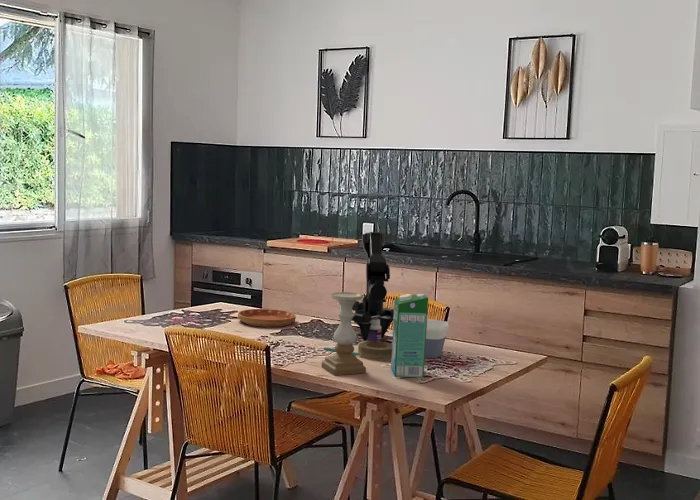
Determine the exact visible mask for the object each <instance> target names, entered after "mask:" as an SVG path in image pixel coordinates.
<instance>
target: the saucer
mask: <svg viewBox="0 0 700 500" xmlns="http://www.w3.org/2000/svg"><path fill="white" fill-rule="evenodd" d="M237 319H238V320H240V321H241V322H242V323H244V324H246V325H250V326H255V327H263V328H264V327H265V328H266V327H267V328H276V327H284V326H288V325H291V324H292V323H293V322H295V321H296V319H297V316H296V314H295V313H293V312H291V311H288V310H287V311H286V310H281V309H273V308H252V309H251V308H250V309H249V308H248V309H243V310H240V311H238V313H237Z"/></svg>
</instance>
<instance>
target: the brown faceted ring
mask: <svg viewBox="0 0 700 500" xmlns="http://www.w3.org/2000/svg"><path fill="white" fill-rule="evenodd" d="M357 349H358V350H357V353H359V355H358V357H360V358H363V359H367V360H375V361H386V360H387V361H388V360H391V356H392V343H390V342H386V341H385V342H384V341H381V342H377V341H368V342H366V341H363V342H360V343H359V344H358V348H357Z"/></svg>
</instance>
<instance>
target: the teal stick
mask: <svg viewBox="0 0 700 500" xmlns="http://www.w3.org/2000/svg"><path fill="white" fill-rule="evenodd" d="M323 350H324V351H325V350H326V351H330V352H336V351H335V348H332V347H323ZM336 353H337V352H336ZM352 354H353V355H355V356H359V353H358V352H356V351H353V352H352Z"/></svg>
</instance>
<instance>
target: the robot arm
mask: <svg viewBox="0 0 700 500" xmlns="http://www.w3.org/2000/svg"><path fill="white" fill-rule="evenodd" d="M361 235H362V236H361V245H362V246H363V247H362V249H363V252H364V254H365V255H366V263H365V280H366V286H365V288H366V289H365V290H366V291H365V292H366V293H365V295H363V299H362V300H361V302H360V300H356V301H355V304H354V305H353V307H352V311H353V314H354V317H353V319H352V321H351V322H354V323H355V324H356V325H357V326H358V328H359V330H360V333H357V335H358V336H360V337H361V336H362V337H361V338H362V340H363V342H366V340H367V338H368V334H369V330H370V326H371V323H369V322H370V321H371V318H376V319H380V324H379V325H380V326H381V339H382V338H384V337H385V334H386V332H387V331H388V330H389V328H390V326H391V324H393V319H394V308H389V307H384V303H387V299H386V296H387V294H388V292H387V291H388V290H387V288H386V286H385V282H389V280H390V279H391V269H390V266H389V264H388V263H387V258H386V257H384V255H383V251H382V249H383V246H385V237H386V236H385V234H383V233H382V232H379V231H378V232H376V231H370V232H364V233H362V234H361Z"/></svg>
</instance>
